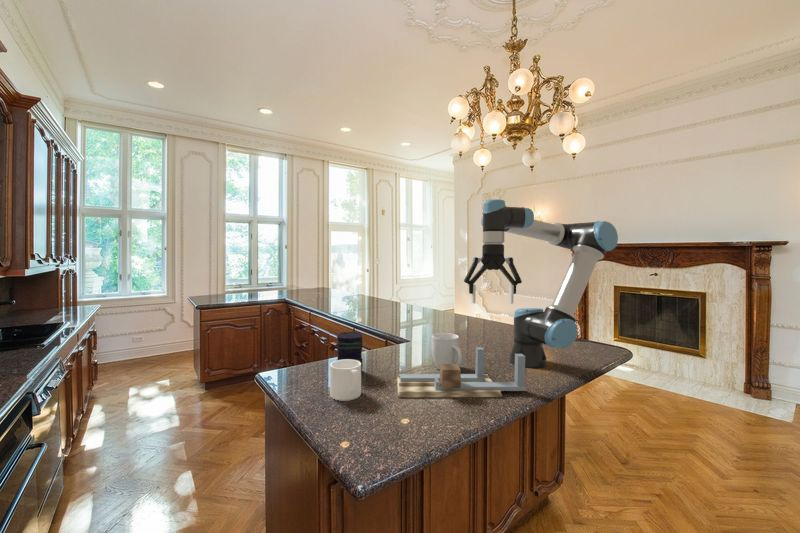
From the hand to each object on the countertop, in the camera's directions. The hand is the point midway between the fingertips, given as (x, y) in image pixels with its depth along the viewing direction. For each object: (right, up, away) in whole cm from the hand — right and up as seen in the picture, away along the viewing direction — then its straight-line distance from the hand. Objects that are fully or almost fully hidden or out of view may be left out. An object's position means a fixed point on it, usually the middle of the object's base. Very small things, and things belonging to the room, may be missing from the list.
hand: (492, 303), depth 127 cm
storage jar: (-53, -28, +9) cm, 60 cm away
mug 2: (-14, -28, +15) cm, 35 cm away
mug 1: (-50, -29, -12) cm, 59 cm away
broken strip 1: (-26, -27, -1) cm, 38 cm away
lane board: (-17, -29, -4) cm, 34 cm away
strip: (-6, -28, -8) cm, 30 cm away
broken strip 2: (-9, -28, 0) cm, 29 cm away
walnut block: (-16, -26, -9) cm, 32 cm away
